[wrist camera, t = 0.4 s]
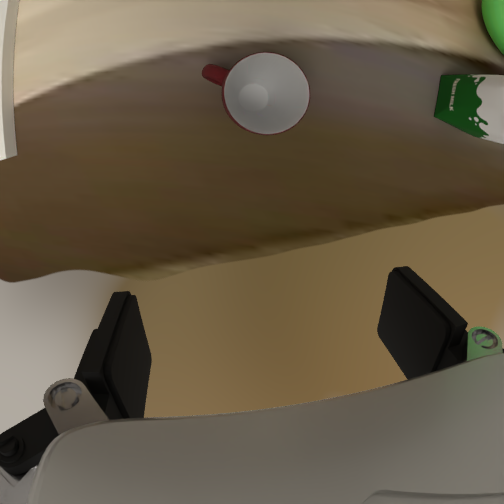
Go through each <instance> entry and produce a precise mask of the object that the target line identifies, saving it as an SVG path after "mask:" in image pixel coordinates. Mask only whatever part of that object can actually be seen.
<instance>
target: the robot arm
mask: <svg viewBox="0 0 504 504" xmlns="http://www.w3.org/2000/svg"><path fill="white" fill-rule="evenodd" d="M467 324H468V323H467V322H466V321H465V320H464V319H463V318H462V317H461V316H460V315H459V314H458V313H457V312H456V311H455V310H454V309H453V308H452V307H451V306H450V305H449V304H448V303H447V302H446V301H445V300H444V299H443V298H442V297H441V296H440V295H439V294H438V293H437V292H435V291H434V290H433V289H432V288H431V287H430V286H429V285H428V284H427V283H426V282H425V281H424V280H423V279H421V278H420V277H419V276H418V275H417V274H416V273H415V272H414V271H413V270H412V269H411V268H409V267H408V266H404V267H396V268H394V269H393V270H392V272H390V273H389V275H388V280H387V286H386V291H385V296H384V301H383V305H382V310H381V315H380V319H379V324H378V328H377V331H378V335H379V337H380V339H381V340H382V342H383V343H384V345H385V346H386V348H387V349H388V351H389V352H390V354H391V355H392V357H393V358H394V360H395V361H396V362H397V364H398V366H399V367H400V369H401V370H402V372H403V373H404V375H405V376H406V378H407V379H408V380H405V381H401V382H398V383H394V384H390V385H387V386H383V387H379V388H375V389H371V390H367V391H362V392H358V393H353V394H349V395H344V396H340V397H335V398H330V399H324V400H320V401H314V402H308V403H302V404H296V405H290V406H283V407H277V408H269V409H262V410H253V411H244V412H235V413H225V414H212V415H196V416H178V417H153V418H144V410H145V402H146V395H147V388H148V381H149V375H150V368H151V353H150V349H149V345H148V341H147V338H146V334H145V330H144V326H143V323H142V319H141V315H140V311H139V306H138V302H137V298H136V296H135V295H131V294H130V292H129V291H125V292H114V293H113V294H112V297H111V299H110V301H109V304H108V306H107V308H106V310H105V313H104V315H103V317H102V320H101V322H100V325H99V327H98V329H95V330H93V332H92V334H91V336H90V339H89V341H88V344H87V346H86V349H85V351H84V354H83V356H82V359H81V361H80V364H79V367H78V369H77V372H76V374H75V377H74V379H71V378H68V379H62V380H59V381H57V382H55V383H54V384H52V385H51V386H50V387H49V388H48V389H47V390H46V393H45V394H44V399H43V402H44V405H45V408H44V409H42V410H40V411H39V412H37V413H35V414H34V415H32V416H30V417H29V418H27V419H25V420H23V421H22V422H20V423H18V424H17V425H15V426H13V427H11V428H10V429H8V430H6V431H5V432H3V433H2V434H0V504H504V349H503V348H502V342H501V339H500V337H499V336H498V335H497V334H496V333H495V332H494V331H492V330H490V329H488V328H485V327H474V328H471V329H470V331H469V332H467V331H466V330H465V329H466V327H467Z"/></svg>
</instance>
